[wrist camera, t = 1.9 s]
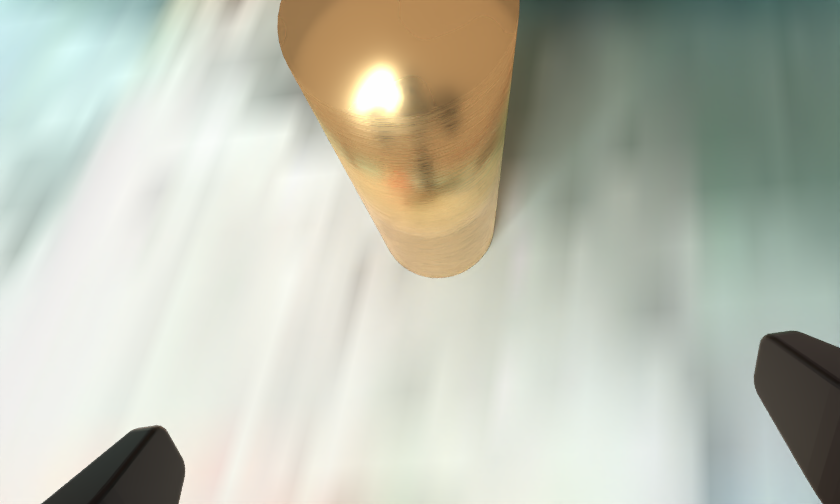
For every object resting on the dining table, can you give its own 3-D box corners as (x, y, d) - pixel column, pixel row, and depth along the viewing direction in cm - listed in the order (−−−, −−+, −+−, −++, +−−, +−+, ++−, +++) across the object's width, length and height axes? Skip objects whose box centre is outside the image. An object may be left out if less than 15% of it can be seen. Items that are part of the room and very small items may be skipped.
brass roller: (469, 295, 22) (464, 148, 9) (365, 254, 23) (235, 73, 10) (510, 194, 23) (554, -57, 10) (409, 160, 24) (340, -106, 11)
